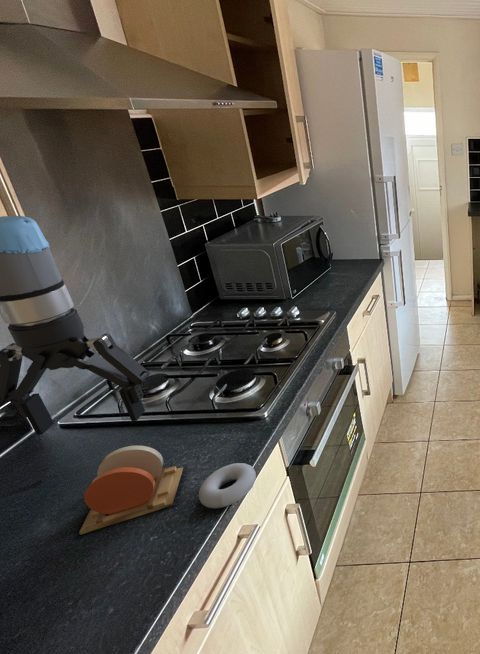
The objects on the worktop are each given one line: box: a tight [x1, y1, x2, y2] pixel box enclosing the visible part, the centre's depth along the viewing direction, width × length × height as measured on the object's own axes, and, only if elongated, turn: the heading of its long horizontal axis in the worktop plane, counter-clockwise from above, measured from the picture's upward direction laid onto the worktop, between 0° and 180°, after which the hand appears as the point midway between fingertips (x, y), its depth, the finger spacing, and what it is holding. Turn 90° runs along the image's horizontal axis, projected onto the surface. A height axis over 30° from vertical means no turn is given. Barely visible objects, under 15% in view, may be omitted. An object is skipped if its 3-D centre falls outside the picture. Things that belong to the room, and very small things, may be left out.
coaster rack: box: [78, 465, 184, 536], centre depth 84 cm, size 14×10×2 cm
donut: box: [198, 462, 257, 509], centre depth 86 cm, size 10×4×10 cm
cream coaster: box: [96, 445, 164, 480], centre depth 85 cm, size 10×1×10 cm, turn 116°
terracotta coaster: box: [83, 467, 155, 514], centre depth 80 cm, size 10×1×10 cm, turn 116°
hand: (93, 422), depth 73 cm, fingers open, 13 cm apart
